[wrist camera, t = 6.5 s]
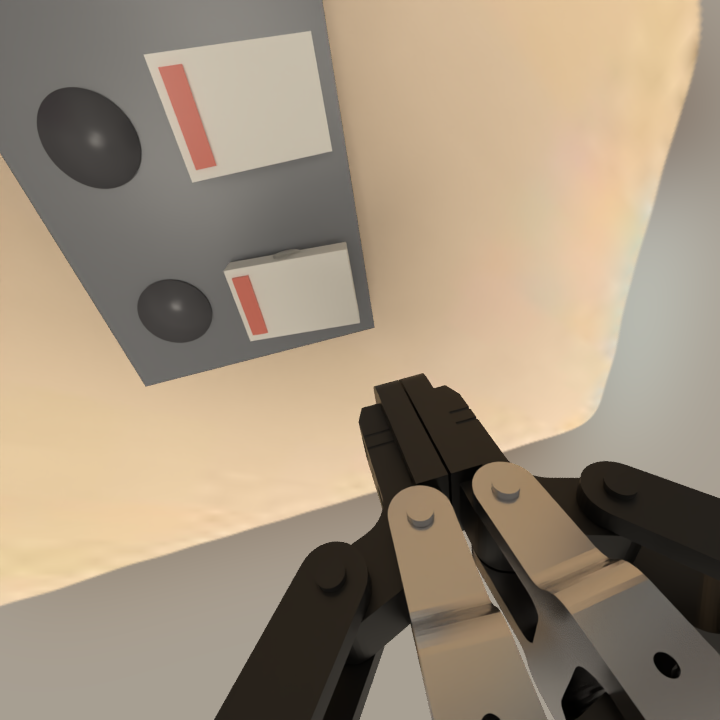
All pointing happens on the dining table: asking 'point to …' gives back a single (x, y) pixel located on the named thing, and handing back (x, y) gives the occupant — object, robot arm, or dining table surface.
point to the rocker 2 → (294, 291)
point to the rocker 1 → (243, 103)
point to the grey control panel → (162, 174)
